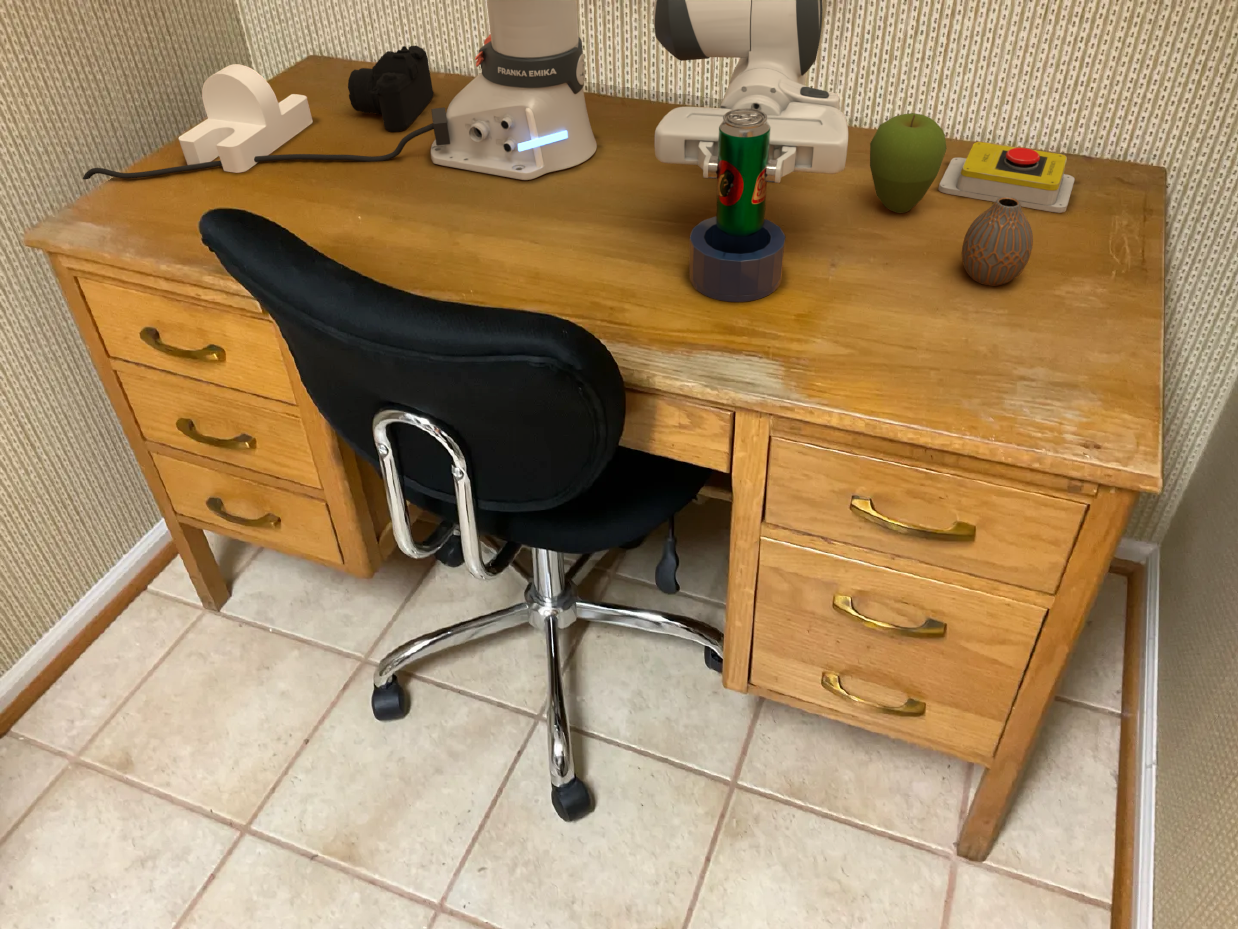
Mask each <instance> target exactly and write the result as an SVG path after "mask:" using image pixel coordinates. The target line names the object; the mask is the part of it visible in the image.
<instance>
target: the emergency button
mask: <svg viewBox="0 0 1238 929" xmlns="http://www.w3.org/2000/svg"><path fill="white" fill-rule="evenodd" d="M1067 161H1068V157H1067V156H1066V155H1065V154H1061V153H1056V152H1049V151H1042V150H1035V149H1031V148H1028V147H1027V148H1026V147H1015V146H1011V145H1004V144H997V143H991V142H983V141H977V142H974V143H973V144H972V146H971V149H970V150H969V152H968V154H967V157H953V158H951V160H950V162H949V164H948V166H947V167H946V170H945V172H944V174H943V176H942V178H941V180H940V182H939V185H938V191H939V192H940V193H943V194H947V195H952V196H959V197H965V198H969V199H976V200H980V201H981V200H982V201H987V202H993V203H995V201H996V200H997V199H998V198H1001V197H1012V198H1015V199H1017V200H1019V201H1020V203H1021V207H1022V208H1028V209H1035V210H1038V211H1039V210H1040V211H1046V212H1050V213H1051V212H1052V213H1058V214H1061V213H1065V212H1066V211H1067V208H1068V205H1069V202H1070V197H1071V194H1072V190H1073V188H1074V185H1075V184H1074V183H1075V181H1076V179H1075V177H1074V176H1073V175H1070V174H1067V173H1065V170H1066V165H1067Z"/></svg>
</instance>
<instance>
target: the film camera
mask: <svg viewBox="0 0 1238 929" xmlns="http://www.w3.org/2000/svg"><path fill="white" fill-rule="evenodd" d="M347 90H348V99H349V101H350V105H351V107H352V108H353V110H354V111H355V112H361V113H363V114H376V115H381V116H382V117H381V118H382V122H383V126H384V129H385V131H387V132H390V133H397V132H398V133H399V132H402V131H403V132H404V131H406V130H407V129H409V127H410V126H411V125H412V124H413V123H414V122H415V120H416V119H417V118H418V117H419V116H420V115H421V113H422V112H423V111H424V110H425V108H427V106H428V105H429V104H430V102H431V101H432V99H433V98H434V93H435V92H434V89H433V83H432V78H431V71H430V65H429V57H428V54H427V51H426V50H425V49H424V48H423V47H420V46H419V45H410V46H408V48H407V46H405V45H403V46H401V49H397V51H396V52H395V51H391V50H387V51H386V52H384V54H382V56H381V57H379V59H378V60H377V62H376V63H375V64H374V66H372V68H367V67H361V68H359V69H353V70H352V71H351V72H350V74H349V77H348V81H347Z"/></svg>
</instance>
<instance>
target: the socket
mask: <svg viewBox="0 0 1238 929" xmlns="http://www.w3.org/2000/svg"><path fill="white" fill-rule="evenodd" d="M785 246H786V235H785V233H784V231H783V230H782V228H781V227H780V226H779V225H777V224H776V223H775V222H773V221H771V220H769V219H766V218H765V220H764V226H763V227H762V229H761V230H760V231H758V232H757V233H756V234H754V235H752V236H748V237H733V236H729V235H726V234H724V233H723V232H722V231H721V230H720V229H719V228H718V227H717V225H716V215H715V216H713V217H709V218H706V219H704V220H701V221H700V222H699V223H698V224H696V225H695V226H694V227H693V228H692V230H691V232H690V235H689V247H688V248H689V249H688V251H689V253H688V254H689V255H688V258H689V259H688V272H689V281H690V284H691V285H692V287H693V288H694V289H695V290H696V291H697V292H698V293H699V294H702V295H704V296H706V297H708V298H710V299H714V300H718V301H722V302H728V303H730V302H731V303H745V302H753V301H756V300H757V301H758V300H760V299H764V298H765V297H768V296H770V295H771V294H772V293H774V292H775V291H776V290H777V289H778V288H779V286H780V285H781V282H782V274H783V268H784V257H785Z"/></svg>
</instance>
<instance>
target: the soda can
mask: <svg viewBox="0 0 1238 929" xmlns="http://www.w3.org/2000/svg"><path fill="white" fill-rule="evenodd" d="M770 129H771V127H770V125H769V123H768V122H767V115H766V114H765V113H764V112H762V111H760V110H756V109H749V108H741V109H734V110H731V111H729V112H727V113H725V114H724V116H723V121H722V123H721V124H720V126H719V139H718V178H717V179H716V206H715V207H716V210H715V211H716V212H715V216H716V225H717V227H718V228H719V229H720V230H721V231H722V232H723V233H724V234H726V235H729V236H733V237H748V236H752V235H754V234H756V233H757V232H758V231H760V230H761V229H762V227H763V226H764V220H765V219H766V204H767V203H766V202H767V190H768V188H767V186H768V182H765V179H766V175H767V174H766V167H767V165H768V159H769V144H770Z"/></svg>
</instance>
